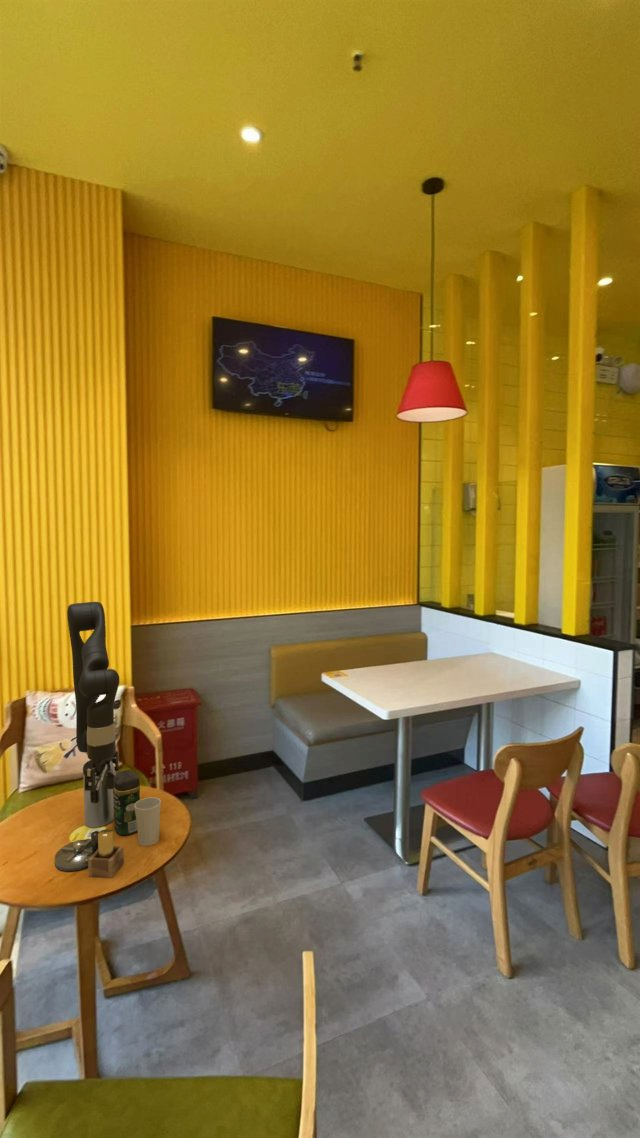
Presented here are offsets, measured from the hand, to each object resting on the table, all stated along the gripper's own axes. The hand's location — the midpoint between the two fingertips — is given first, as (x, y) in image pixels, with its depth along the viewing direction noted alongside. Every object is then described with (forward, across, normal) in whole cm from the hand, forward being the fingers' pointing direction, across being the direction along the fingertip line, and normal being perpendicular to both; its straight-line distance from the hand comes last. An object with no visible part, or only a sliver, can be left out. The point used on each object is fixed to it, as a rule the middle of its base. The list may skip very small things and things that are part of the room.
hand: (103, 795), depth 152 cm
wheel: (+22, -5, -11) cm, 25 cm away
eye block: (+22, 0, 0) cm, 22 cm away
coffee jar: (+22, -22, -4) cm, 32 cm away
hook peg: (+22, 0, 0) cm, 22 cm away
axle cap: (+19, -5, -11) cm, 22 cm away
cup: (+22, -16, +6) cm, 28 cm away
